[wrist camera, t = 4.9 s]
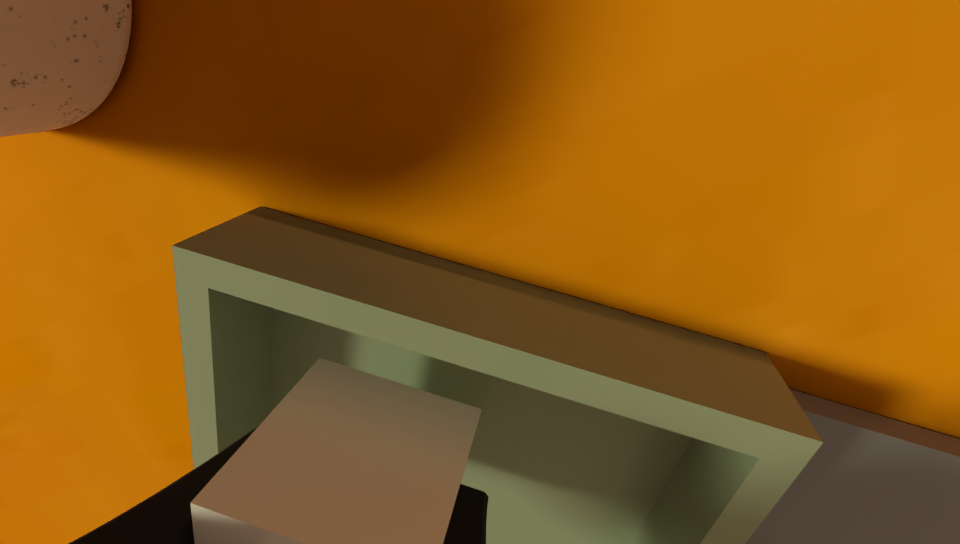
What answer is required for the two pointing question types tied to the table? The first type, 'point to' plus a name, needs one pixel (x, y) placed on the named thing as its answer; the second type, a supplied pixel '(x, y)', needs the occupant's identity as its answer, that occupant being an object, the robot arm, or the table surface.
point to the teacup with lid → (58, 60)
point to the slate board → (868, 483)
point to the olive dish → (496, 382)
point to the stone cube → (342, 466)
